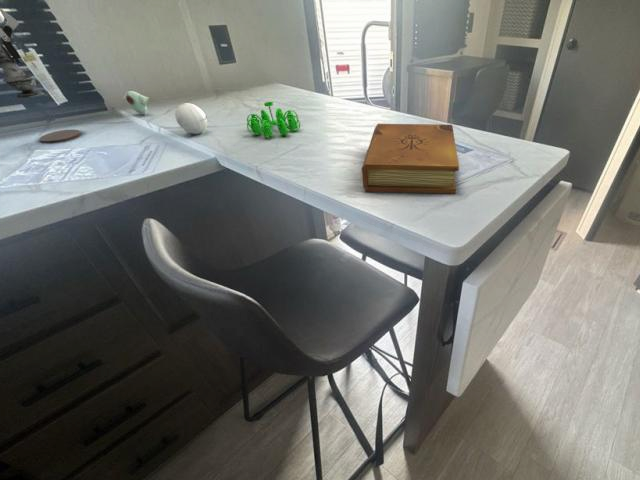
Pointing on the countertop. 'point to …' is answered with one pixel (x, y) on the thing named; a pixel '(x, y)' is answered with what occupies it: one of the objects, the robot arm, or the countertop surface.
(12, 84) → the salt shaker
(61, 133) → the coaster
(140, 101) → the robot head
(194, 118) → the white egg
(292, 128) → the chandelier
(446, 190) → the diary
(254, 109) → the countertop surface
